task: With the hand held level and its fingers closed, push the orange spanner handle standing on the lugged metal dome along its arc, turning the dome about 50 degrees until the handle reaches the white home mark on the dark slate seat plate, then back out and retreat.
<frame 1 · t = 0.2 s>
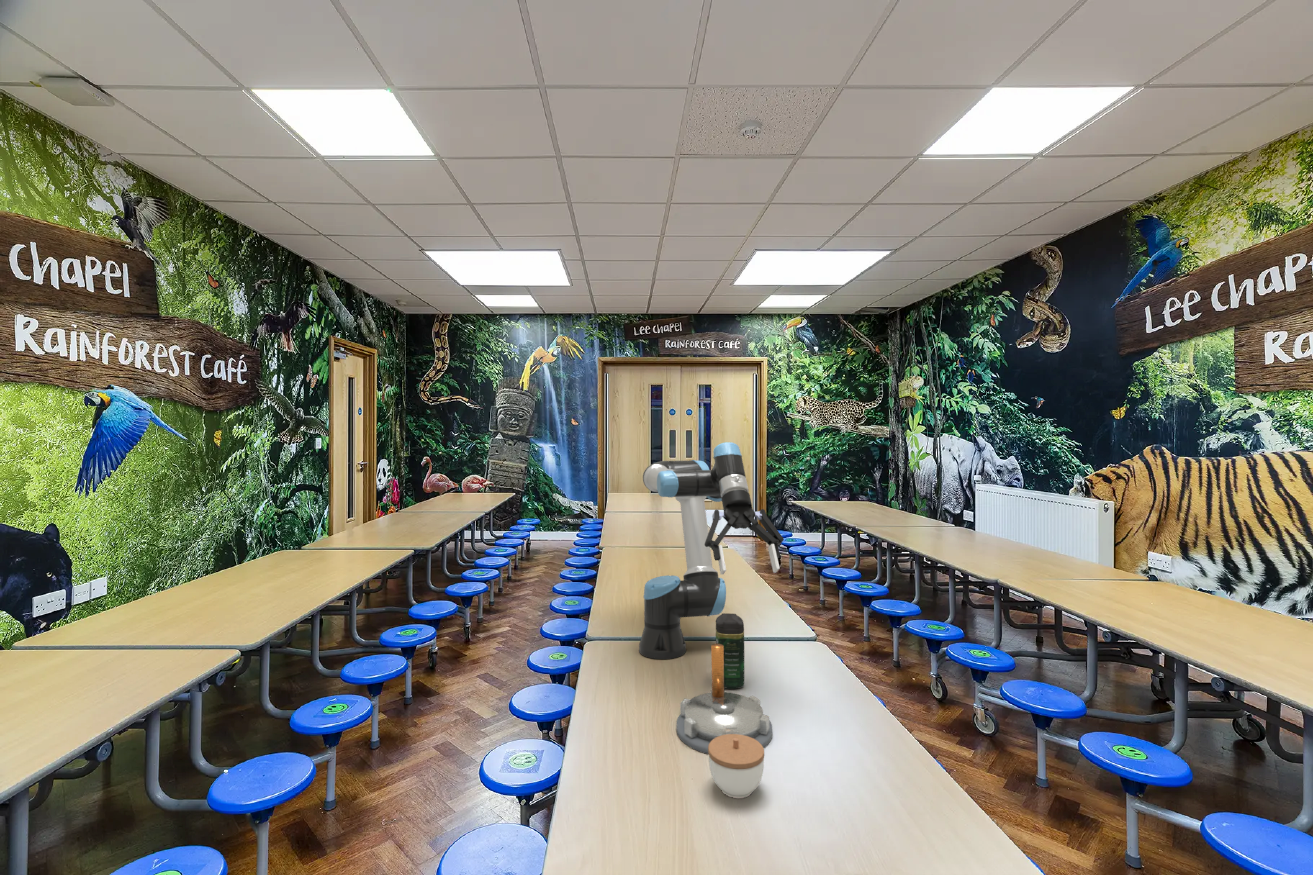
hand: (750, 571, 135), 35 cm above the table, tool tilted 35°, fingers open, 13 cm apart
lidded jar: (736, 789, 106), on the table
lugged metal dome: (723, 689, 128), point 9 cm above the table, hinge at 0.0°
coffee jar: (730, 683, 154), on the table
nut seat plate: (723, 729, 128), on the table
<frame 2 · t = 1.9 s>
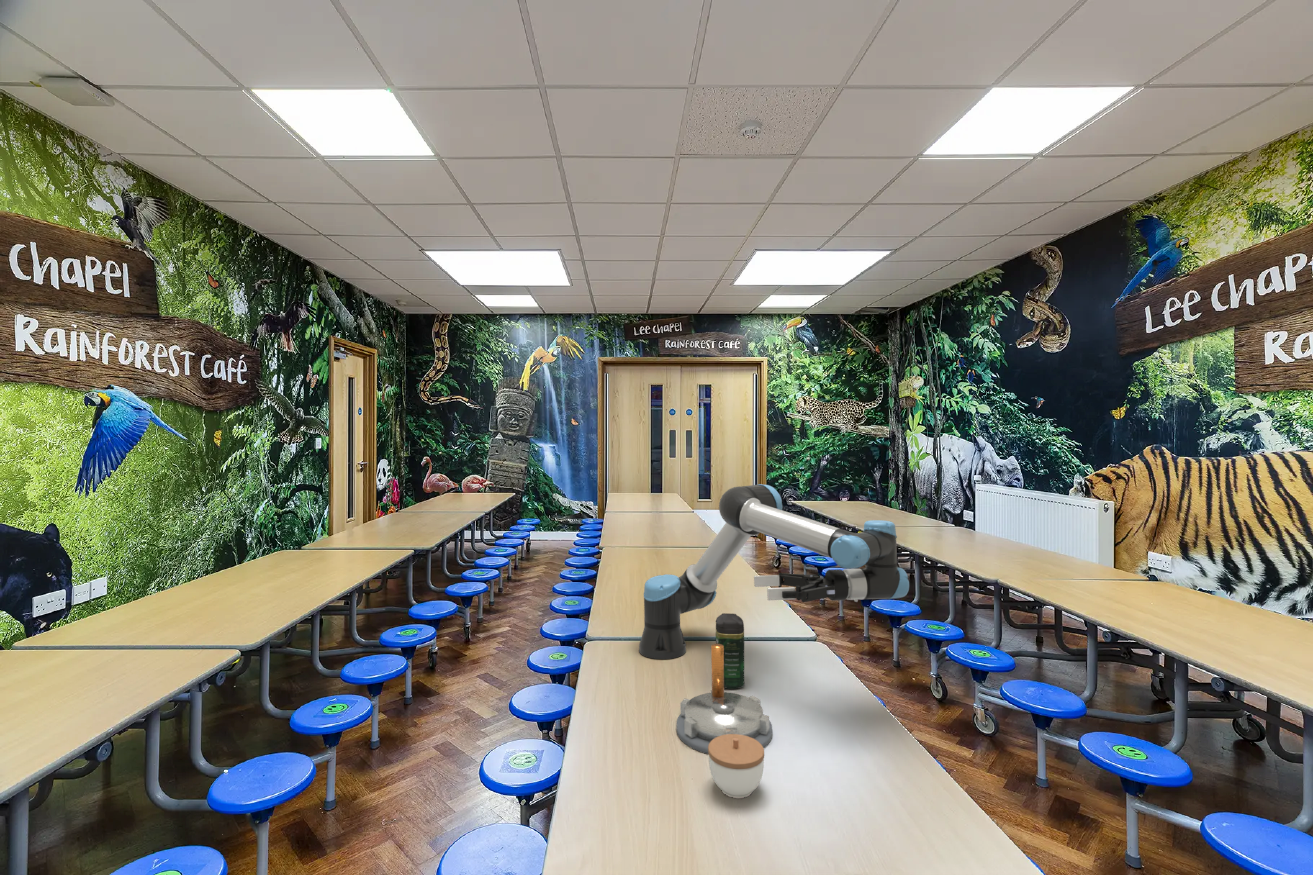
hand: (760, 587, 138), 31 cm above the table, tool horizontal, fingers open, 13 cm apart
nothing on the table moved.
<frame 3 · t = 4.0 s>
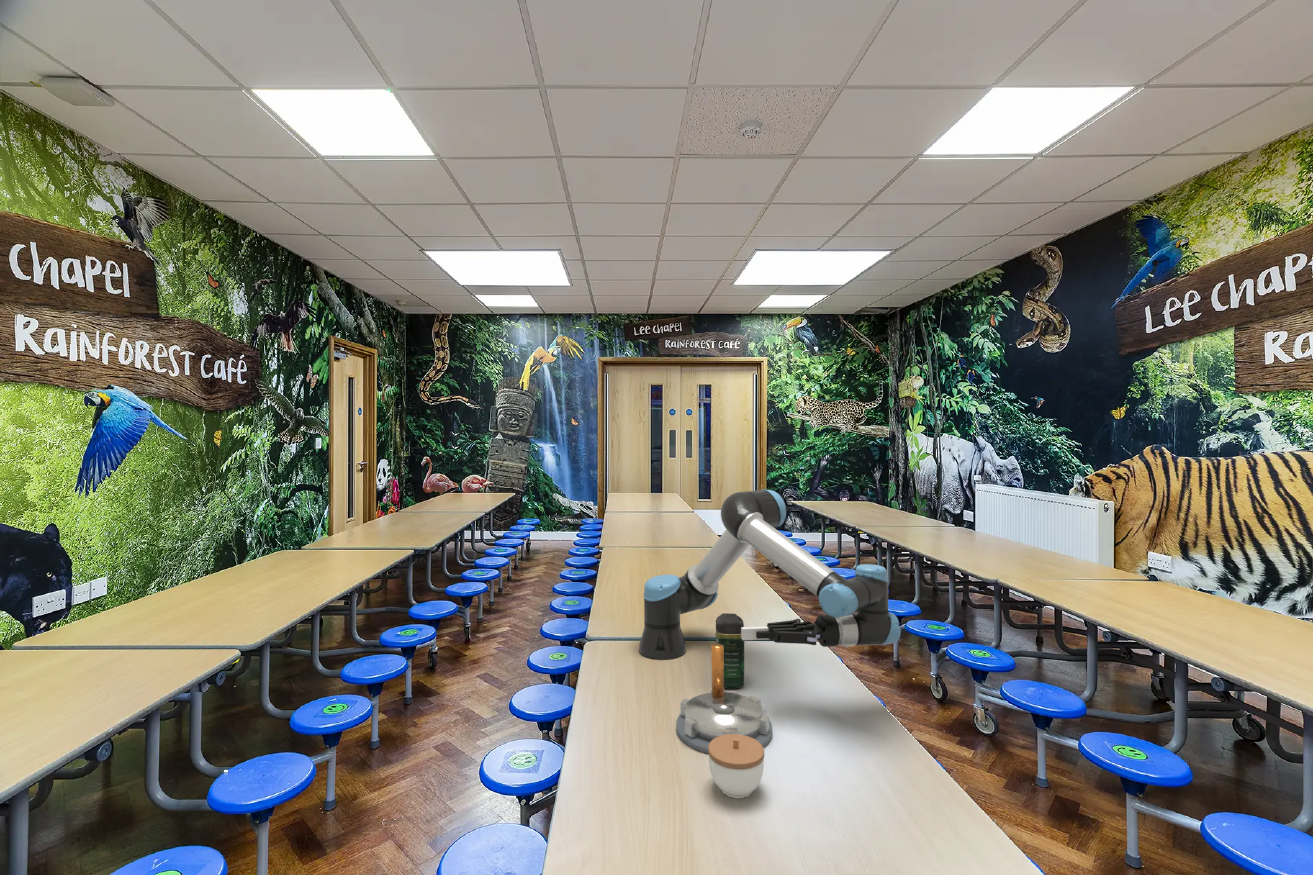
hand: (741, 633, 136), 20 cm above the table, tool horizontal, fingers closed
nothing on the table moved.
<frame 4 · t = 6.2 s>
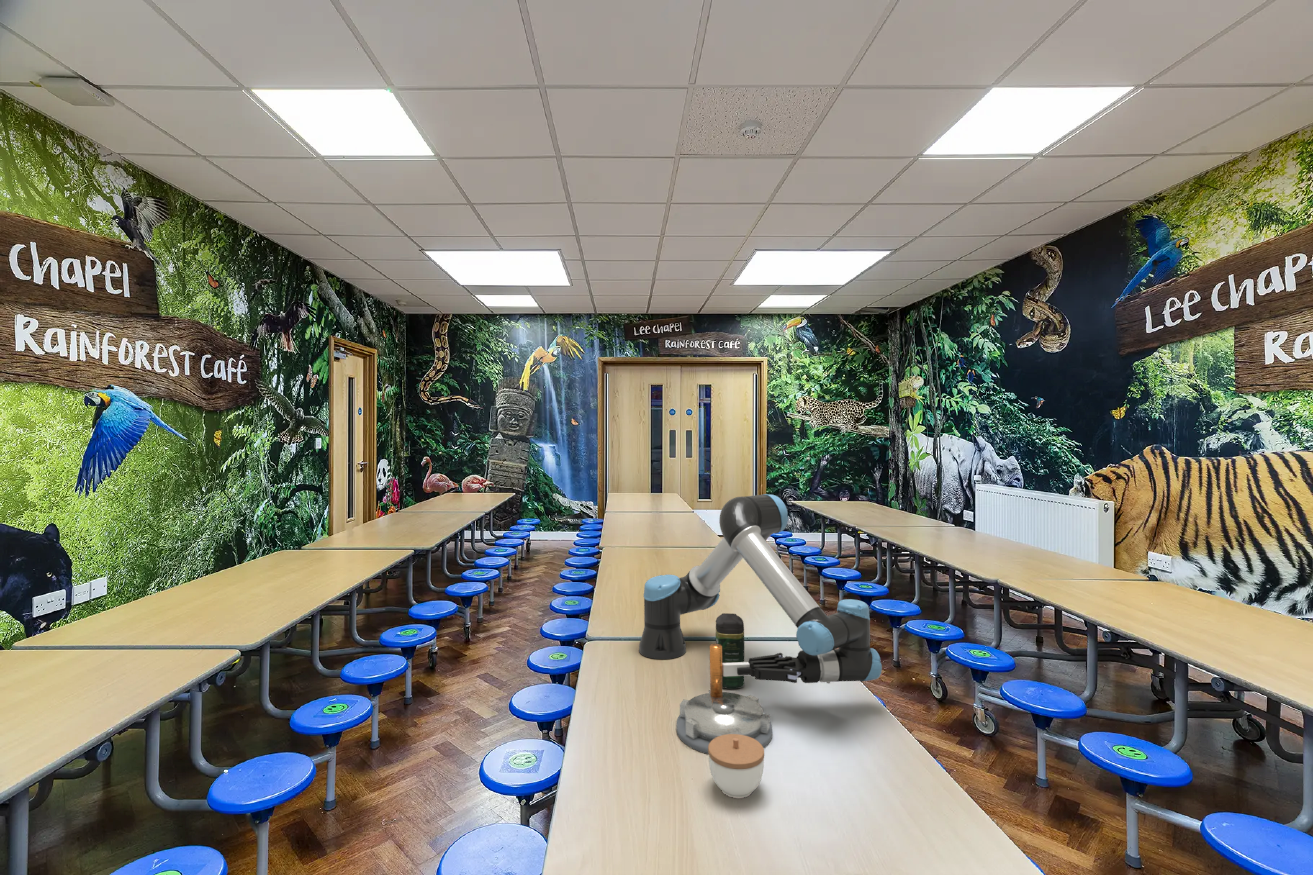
hand: (723, 669, 136), 11 cm above the table, tool horizontal, fingers closed
lugged metal dome: (723, 689, 128), point 9 cm above the table, hinge at 3.1°, touching gripper
everything else where it was.
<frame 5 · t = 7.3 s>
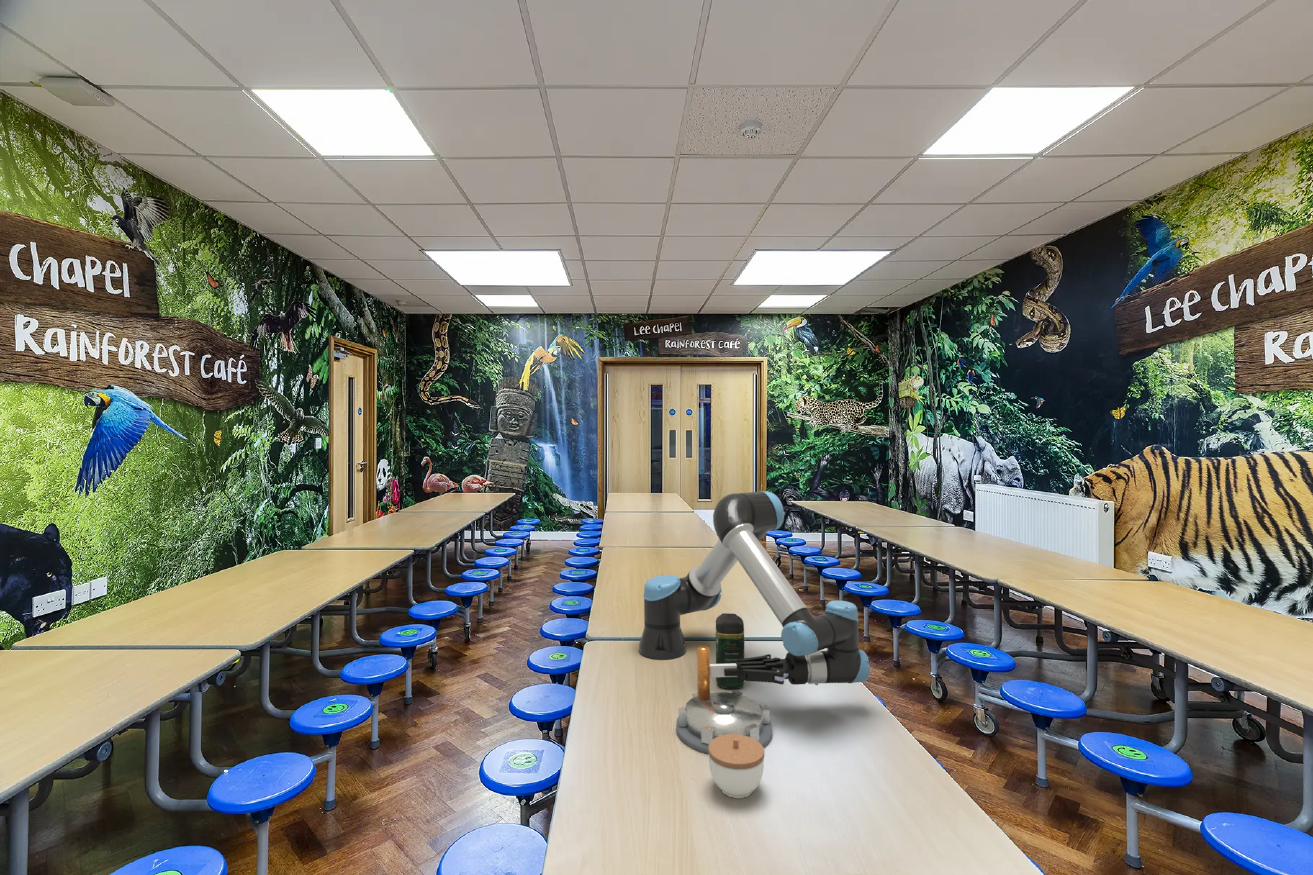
hand: (710, 670, 135), 11 cm above the table, tool horizontal, fingers closed
lugged metal dome: (723, 689, 128), point 9 cm above the table, hinge at 29.2°, touching gripper
everything else where it was.
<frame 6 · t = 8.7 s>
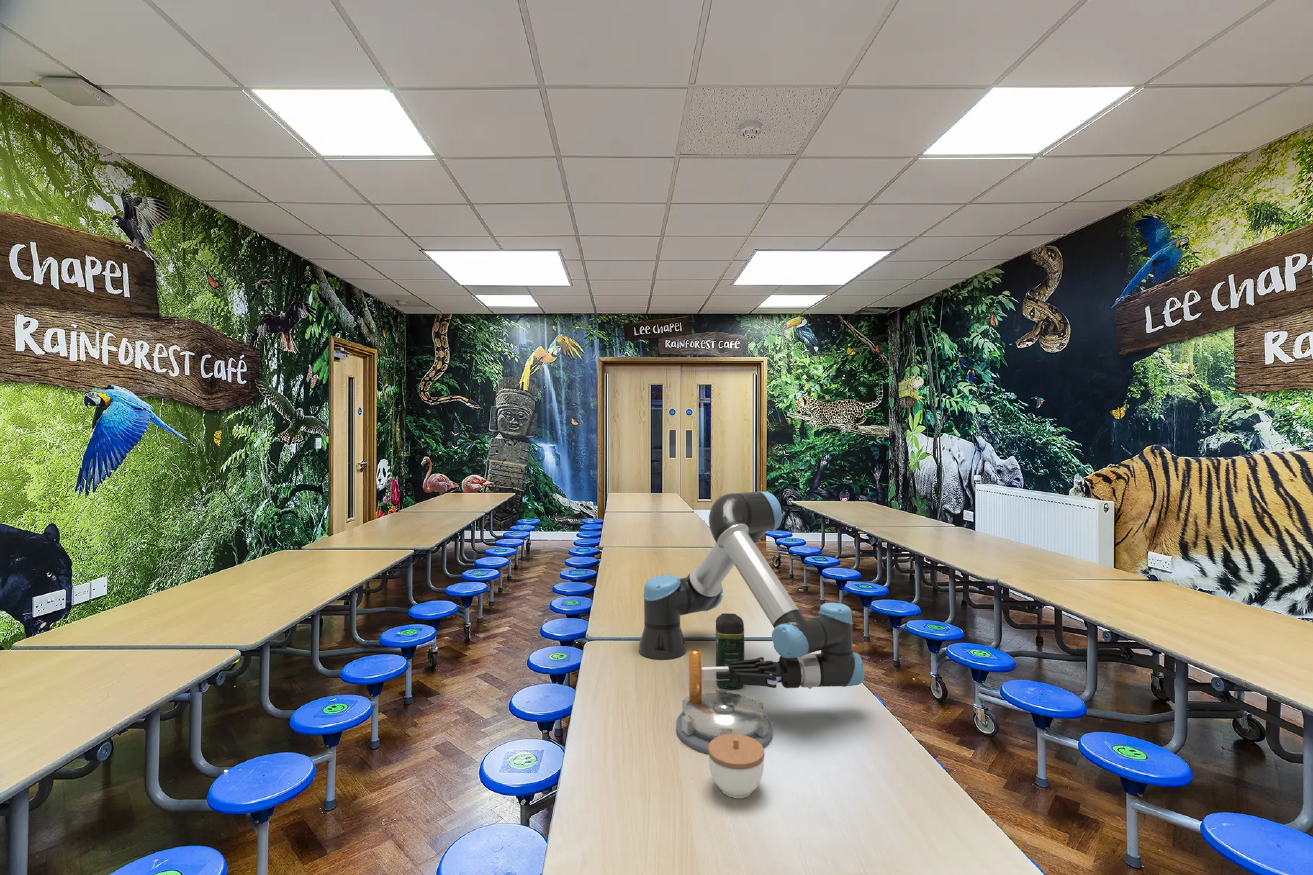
hand: (702, 673, 133), 11 cm above the table, tool horizontal, fingers closed
lugged metal dome: (723, 689, 128), point 9 cm above the table, hinge at 52.7°, touching gripper
everything else where it was.
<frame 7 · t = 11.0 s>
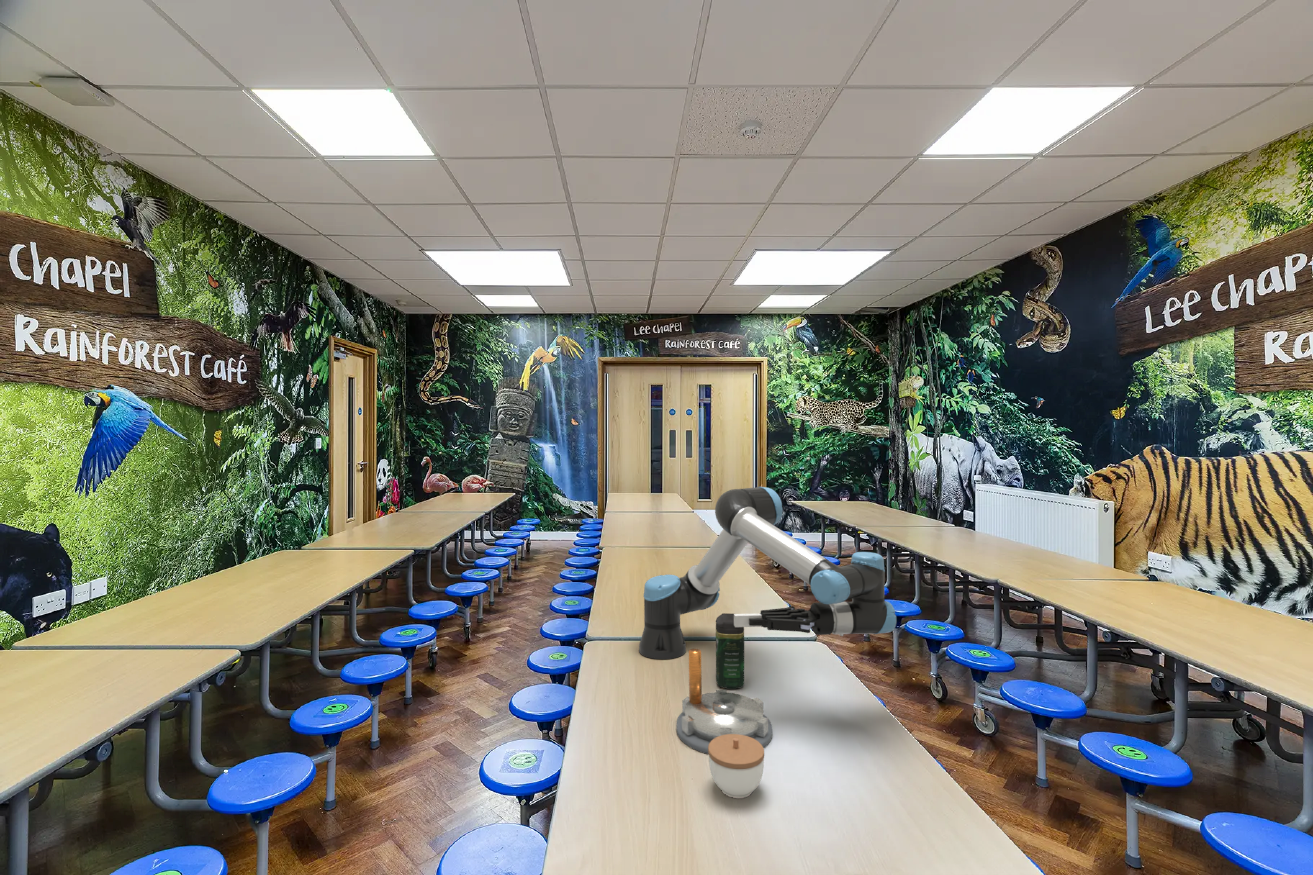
hand: (734, 620, 134), 24 cm above the table, tool horizontal, fingers closed
lugged metal dome: (723, 689, 128), point 9 cm above the table, hinge at 52.7°
everything else where it was.
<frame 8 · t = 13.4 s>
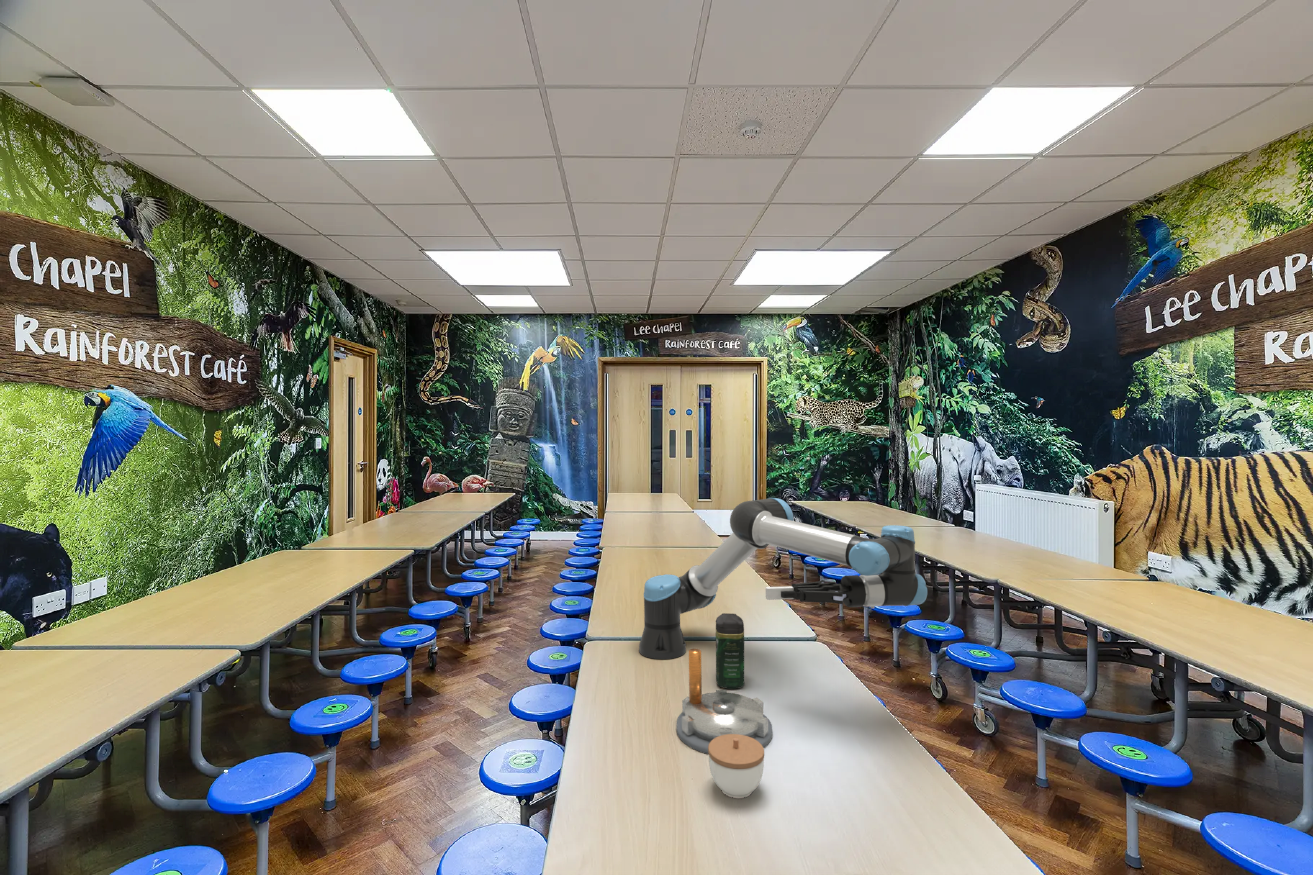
hand: (766, 593, 135), 30 cm above the table, tool horizontal, fingers closed
nothing on the table moved.
at the end: lugged metal dome at +53° (first picture: +0°); coffee jar moved 0.2 cm from its start; lidded jar moved 0.2 cm from its start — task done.
